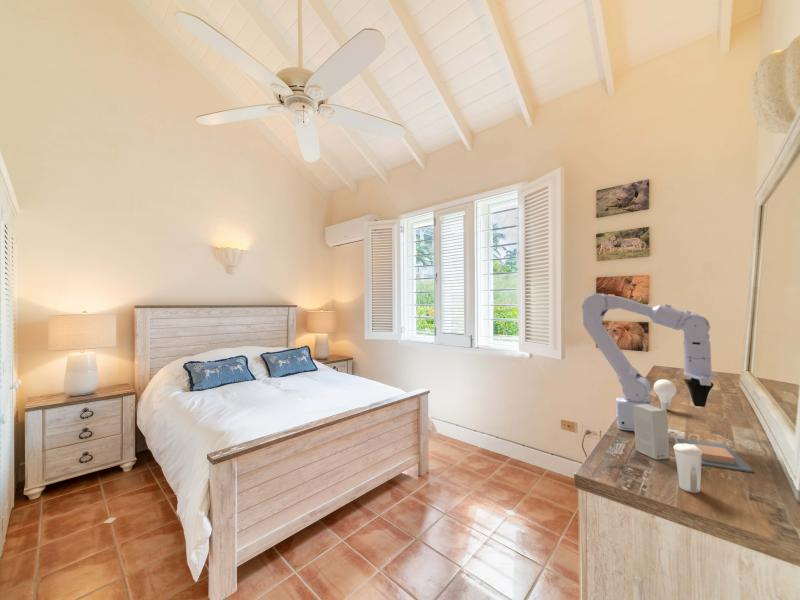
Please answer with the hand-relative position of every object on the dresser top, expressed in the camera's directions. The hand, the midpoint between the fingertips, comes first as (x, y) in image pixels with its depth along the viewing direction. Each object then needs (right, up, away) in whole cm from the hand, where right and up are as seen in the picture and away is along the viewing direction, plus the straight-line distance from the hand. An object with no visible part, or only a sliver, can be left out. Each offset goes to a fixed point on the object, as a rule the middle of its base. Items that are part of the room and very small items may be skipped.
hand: (699, 405), depth 93 cm
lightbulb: (+11, -10, +26) cm, 30 cm away
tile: (-6, -8, -9) cm, 13 cm away
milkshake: (-24, -10, -24) cm, 35 cm away
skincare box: (-20, -10, -8) cm, 23 cm away
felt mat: (-6, -9, -9) cm, 14 cm away
